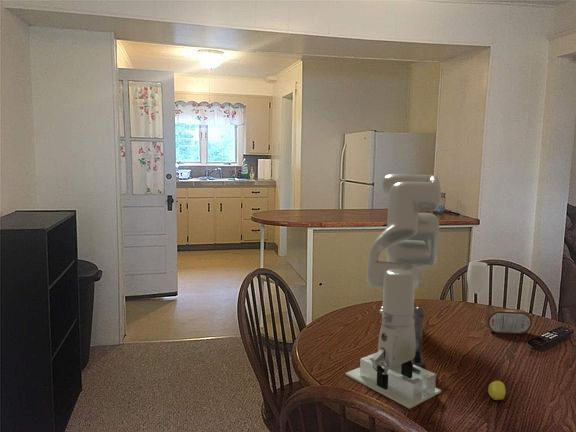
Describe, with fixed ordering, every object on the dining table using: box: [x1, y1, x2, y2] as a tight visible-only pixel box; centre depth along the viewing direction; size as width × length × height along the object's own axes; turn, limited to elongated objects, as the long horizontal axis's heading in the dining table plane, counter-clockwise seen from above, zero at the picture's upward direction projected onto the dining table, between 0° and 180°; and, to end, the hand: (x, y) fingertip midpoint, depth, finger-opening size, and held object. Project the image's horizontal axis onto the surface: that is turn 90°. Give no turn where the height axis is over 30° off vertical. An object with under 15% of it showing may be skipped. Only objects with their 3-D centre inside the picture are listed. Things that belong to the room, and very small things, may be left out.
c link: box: [359, 351, 437, 403], centre depth 125 cm, size 18×9×5 cm, turn 37°
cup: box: [466, 261, 489, 295], centre depth 178 cm, size 7×7×21 cm
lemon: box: [487, 380, 507, 401], centre depth 120 cm, size 4×8×4 cm, turn 148°
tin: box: [484, 307, 533, 335], centre depth 163 cm, size 15×3×8 cm, turn 84°
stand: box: [412, 306, 426, 368], centre depth 137 cm, size 4×4×18 cm
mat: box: [345, 366, 442, 410], centre depth 127 cm, size 22×13×1 cm, turn 38°
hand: (394, 381), depth 121 cm, fingers open, 9 cm apart
